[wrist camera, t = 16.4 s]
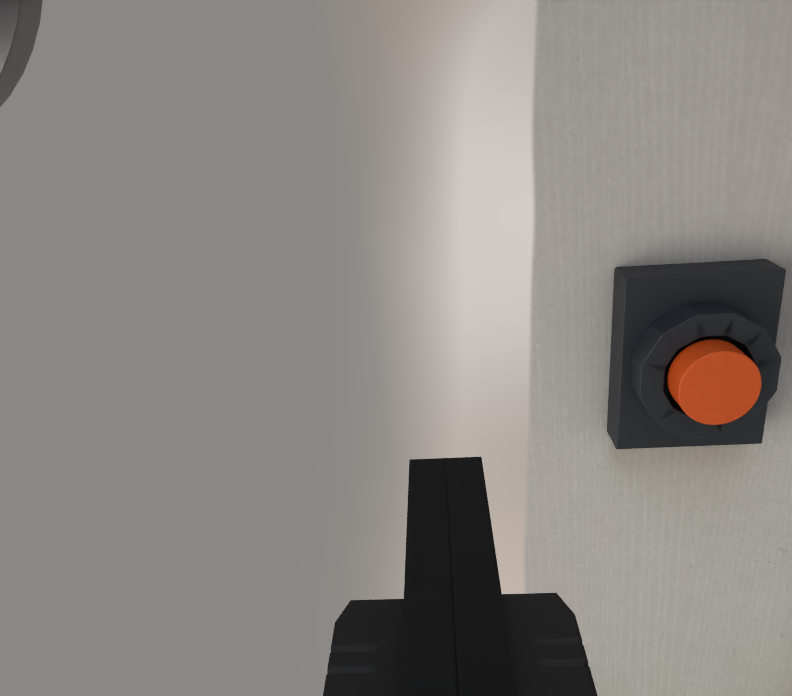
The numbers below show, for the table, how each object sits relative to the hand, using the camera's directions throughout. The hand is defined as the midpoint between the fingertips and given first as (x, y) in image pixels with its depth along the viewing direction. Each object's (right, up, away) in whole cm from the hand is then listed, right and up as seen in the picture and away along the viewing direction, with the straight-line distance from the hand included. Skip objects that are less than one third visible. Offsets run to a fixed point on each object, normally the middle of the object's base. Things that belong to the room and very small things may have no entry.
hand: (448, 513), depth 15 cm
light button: (+15, +2, +21) cm, 26 cm away
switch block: (+15, +3, +24) cm, 29 cm away
